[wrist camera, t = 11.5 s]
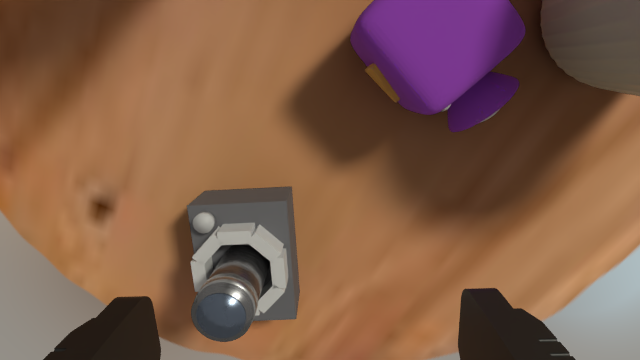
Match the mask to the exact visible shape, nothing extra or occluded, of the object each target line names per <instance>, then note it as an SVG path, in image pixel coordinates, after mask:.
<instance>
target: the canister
mask: <svg viewBox="0 0 640 360" xmlns="http://www.w3.org/2000/svg"><path fill="white" fill-rule="evenodd" d="M540 14H541V23H540V26H541V29H542V38H543V39H544V41H545V47H546V49H548V51H549V53H550V57H551V58H552V59H554V60H555V62H556V64H557V66H558V67H559V68H561V69H563V70H564V71H565V73H566V74H567V75H569V76H572V77H574V78H575V79H576V80H577V81H579V82H582V83H586V84H588V85H590V86H592V87H596V88H600V89H605V90H610V91H615V92H620V93H625V94H631V95H636V96H640V0H542V8H541V11H540Z"/></svg>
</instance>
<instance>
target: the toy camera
mask: <svg viewBox="0 0 640 360" xmlns="http://www.w3.org/2000/svg"><path fill="white" fill-rule="evenodd" d="M524 36H525V25H524V23H523V21H522V19H521V17H520V15H519V14H518V13H517V11H516V10H515V8H514V7H513V5H512V4H511V3H510V1H509V0H374V1H373V2H372V3H371V4H370V5H369V6H368V7H367V8H366V9H365V10H364V11H363V12H362V14H361V15H360V16H359V18H358V20H357V21H356V23H355V26H354V28H353V30H352V33H351V37H350V40H351V45H352V47H353V49H354V50H355V52H356V53H357V55H358V56H359V57H360V58H361V59H362V61H363V62H364V63H365V64H366V66H367V68H366V69H365V71H366V73H367V74H368V75H369V76H370V77H371V78H372V79H373V80H374V81H375V82H376V83H377V84H378V85H379V86H380V87H381V88H382V89H383V91H384V92H385V93H386V94H387V95H388V96H389V97H390V98H391V99H392V100H393V101H394V102H395V103H396V102H398V103H399V104H400V105H401V106H403V107H404V108H406V109H407V110H410V111H413V112H416V113H420V114H426V115H432V114H436V113H438V112H440V111H445V110H447V109H448V126H449V130H450V131H452V132H459V131H462V130H465V129H468V128H470V127H472V126H474V125H476V124H478V123H480V122H483V121H485V120H488V119H490V118H491V117H492V116H494V115H495V114H496V113H497V112H498V111H499V109H500V108H501V107H502V106H503V105H505V104H506V103H507V102H508V101H509V100H510V99H511V97H512V96H513V95H514V94H515V92H516V91H517V89H518V87H519V81H518V79H516V78H514V77H511V76H508V75H504V74H500V73H495V72H490V71H491V70H492V69H493V68H494V67H495V66H496V65H498V64H499V63H500V62H501V61H502V60H503V59H504V58H505V57H507V56H508V55H509V54H510V53H511V52H512V51H513V50H514V49H515V48H516V47H517V46H518V45H519V44H520V42H521V41H522V39H523V38H524Z"/></svg>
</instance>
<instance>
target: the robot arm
mask: <svg viewBox="0 0 640 360" xmlns="http://www.w3.org/2000/svg"><path fill="white" fill-rule="evenodd" d="M458 348H459V354H460V360H575V358H574V357H573V356H570V355H569V352H568V351H567V349H566V348H565V347H564V346H563V345H562V344H561V343H560V342H558V341H557V338H556V337H555V336H554V335H553V334H552V333H551V331H550V330H549V329H548V328H547V327H546V326H545V324H544V323H543V322H542V321H540V320H538V319H537V318H535V317H534V316H532V315H531V314H529V313H528V312H526V311H525V310H523V309H522V308H521V309H513V308H512V306H511V305H510V304H509V303H508V301H507V300H506V299H505V298H504V297H503V295H502V294H501V293H500V292H499V291H498V290H497V289H496V288H483V289H464V290H463V292H462V296H461V308H460V322H459V336H458ZM160 353H161V347H160V341H159V336H158V330H157V325H156V319H155V314H154V309H153V304H152V301H151V299H150V298H149V297H147V296H142V297H117V298H115V299H114V300H113V301H112V302H111V303H110V304H109V305H108V306H107V307H106V308H105V309H104V310H103V311H102V312H101V313H100V314H99V315H98V316H97V317H96V318H92V319H91V320H89V321H88V322H86V323H84V324H83V325H81V326H80V327H78V328H76V329H75V330H73V331H72V332H70V334H68V335H67V336H66V337H65V338H64V339H63V340H62V341H61V342H60V344H58V345H57V346H56V347H55V350H54V352H50V354H48V356H46V357H45V358H44V359H43V360H160V355H161V354H160Z"/></svg>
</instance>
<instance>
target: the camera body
mask: <svg viewBox="0 0 640 360" xmlns="http://www.w3.org/2000/svg"><path fill="white" fill-rule="evenodd" d="M187 209H188V215H189V222H190V229H191V236H192V242H193V249H194V255H193V257H192V258H193V260H192V261H191V268H192V275H193V282H194V288H195V292H199V290H200V289H201V287H202V286H203V284H204V283H205V282H206V281H207V280H208V279H209V277H210V276H211V274H212V272H213V271H214V269H215V268H216V266H217V265H218V263H219V261H220V260H221V258H222V257H223V255H224V253H225V252H226V251H227V250H228V249H229V248H230V247H231V246H233V245H238V244H249V245H251V246H252V247H253V248H254V249H256V250H257V251H258V252H259V253H261V254H262V255H263V256H264V257H266V258H267V259H268V262H269V269H268V273H267V276H266V279H265V282H264V285H263V288H262V291H261V294H260V297H259V300H258V307H257V310H256V313H255V317H254V319H253V321H260V320H286V319H296V316H297V308H298V301H299V293H300V289H299V276H298V263H297V249H296V236H295V223H294V210H293V197H292V187H273V188H253V189H232V190H212V191H204V192H203V193H202V194H201V195H199V196H198V197H197V198H196V199H195V200H193V201H192V202H191V203H190V204H189V205H187Z"/></svg>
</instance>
